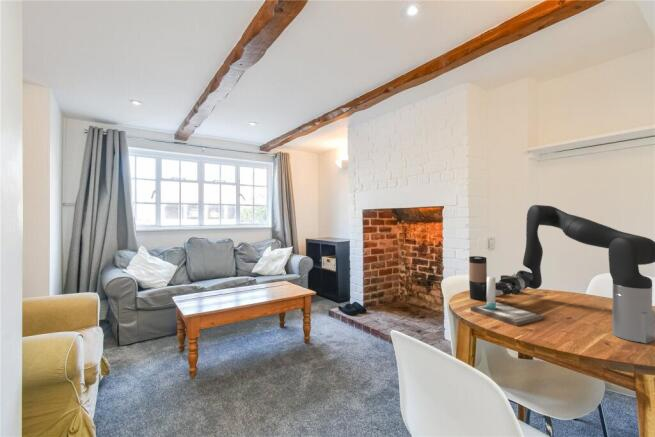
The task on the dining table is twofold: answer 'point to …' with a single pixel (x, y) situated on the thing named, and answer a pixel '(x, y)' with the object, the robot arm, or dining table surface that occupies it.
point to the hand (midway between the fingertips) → (493, 290)
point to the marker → (491, 293)
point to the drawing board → (508, 314)
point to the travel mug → (477, 277)
